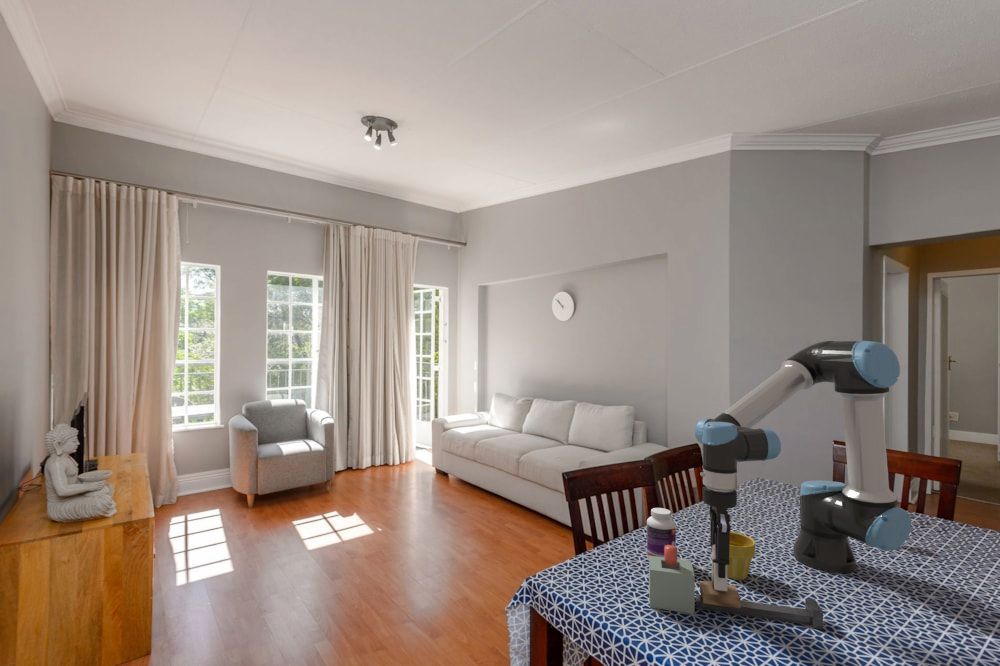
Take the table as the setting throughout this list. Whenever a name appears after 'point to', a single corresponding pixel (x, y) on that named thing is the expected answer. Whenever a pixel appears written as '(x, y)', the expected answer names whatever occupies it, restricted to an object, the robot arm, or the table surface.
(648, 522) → the pill bottle
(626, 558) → the table surface
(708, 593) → the carriage
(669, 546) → the plunger
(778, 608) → the rail
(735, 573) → the plant pot
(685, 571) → the switch box
